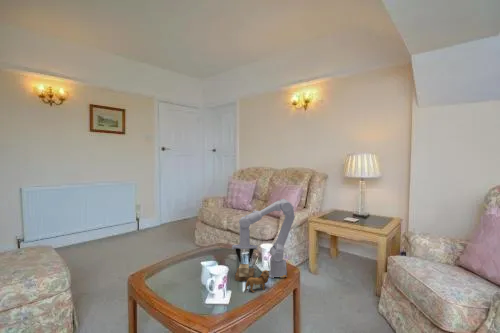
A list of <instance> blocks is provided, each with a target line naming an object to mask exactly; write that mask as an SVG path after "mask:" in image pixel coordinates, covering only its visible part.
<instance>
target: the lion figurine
mask: <svg viewBox="0 0 500 333" xmlns="http://www.w3.org/2000/svg"><path fill="white" fill-rule="evenodd" d="M269 278H270V270H269V271H268V270H267V269H265V270H262V271H261V274H260V275H259V276H258V277H257V276H256V277H254V278H252V277H251V278H249V279H248V280H247V281H245V282H246V283H245V289H244V291H243V293H246V291H248V290H250V291H251V292H252V293H255V290H253V287H254V285H255V286H259V288H260V289H262V290H263V291H266V288H265V287H266V286H265V285H266V283H268V281H269ZM249 286H250V288H249V289H248V287H249Z"/></svg>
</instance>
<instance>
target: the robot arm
mask: <svg viewBox="0 0 500 333" xmlns="http://www.w3.org/2000/svg"><path fill="white" fill-rule="evenodd" d="M275 211H277V212H281V211H282V213H283V215H284V216H285V217H284V219H283V223H282V225H281V227H280V229H279V232H278V236H277V238H276V240H275V242H274V243H273V245H272V246H271V247H270V249H269V254H270V255H271V257H270V258H269V269H270V270H269V278H270V279H273V278H274V277H278V276H283V275H286V276H287V272H288V271H287V260H286V259H284V251H285V244H286V241H287V239H288V236H289V233H290V231H291V229H292V226H293V223H294V221H295V219H296V218H295V215H296V214H295V211H294V206H293V204H292V203H291V202H290V201H288V199H286V198H281V199H279V200H276V201H275V202H273V203H271V204H269V205H268V206H266V207H264V208H263V209H261V210H252V212H251V213H249V214H245V215H244V216H241V217H240V219H239V221H238V222H239V244H232V246H231V250H235V254H236V255H237V258H238V261H239V262H238V263H241V262H242V256H241V255H242V254H241V250H249V251H248V263H251V261H252V260H251V259H252V255H253V254H254V251H256V250H257V251H258V245H254V244H250V241H251V240H250V239H251V238H250V237H251V236H250V226H252V225H253V224H256V223H257V222H259V221H261V220H262V218H263V217H264V216H266V215H269V214H270V213H273V212H275ZM274 279H275V278H274Z"/></svg>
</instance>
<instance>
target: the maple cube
mask: <svg viewBox="0 0 500 333" xmlns="http://www.w3.org/2000/svg"><path fill="white" fill-rule="evenodd" d="M238 268H239V277H248V276H249V268H250V264H249V263H240V264H239V267H238Z"/></svg>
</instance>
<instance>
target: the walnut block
mask: <svg viewBox="0 0 500 333" xmlns="http://www.w3.org/2000/svg"><path fill="white" fill-rule="evenodd" d="M251 277H252V278H255V267H249V276H248V277H239V267H237V268H236V272H235V275H234V278H235V279H234V280H235V281H236V282H237V281H238V282H240V281H242V282H247V280H248V279H249V278H251Z"/></svg>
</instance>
